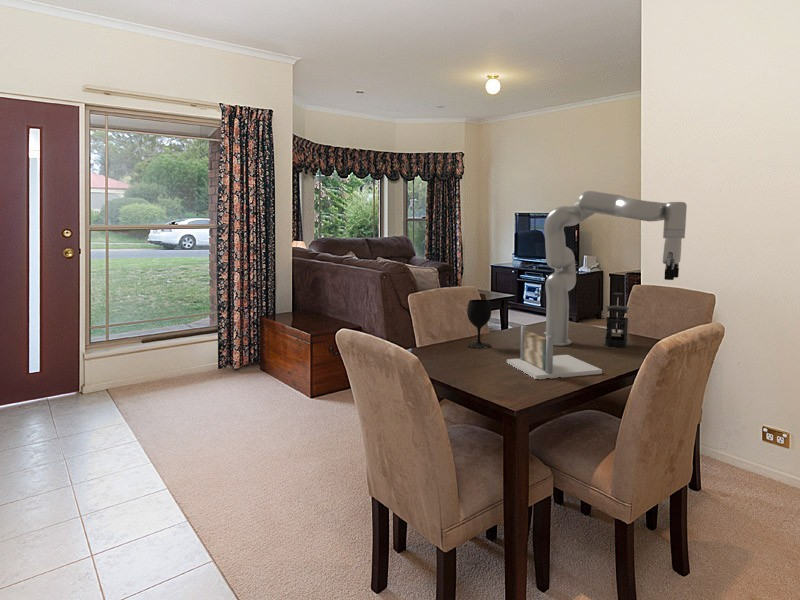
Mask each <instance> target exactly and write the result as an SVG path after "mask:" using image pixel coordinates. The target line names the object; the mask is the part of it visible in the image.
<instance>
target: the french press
mask: <svg viewBox="0 0 800 600" xmlns="http://www.w3.org/2000/svg"><path fill="white" fill-rule="evenodd" d="M612 295H616V299H617V301H616V303H617V304H616V305H608V306H606V309H607V312H612V311H613V312H616V316H607V317H605V322H606V330H605V331H606V335H605V337H604V344H603V345H604V346H605V347H607V346H608V347H607V348H611V347H615V348H614V349H624V348H623V347H626V348H627V347H628V329H629V328H628V324H629V318H628V317H626V316H625V317H622V316H618V315H619V314H623V315H624V314H628V310H629V309H630V308H629V307H628V306H625V305H624V306H623V305H619V298H620V296H623V295H624V293H623V292H614V293H612ZM613 324H615V326H616V327H615V329H614V328H613ZM618 324H620V329H618Z"/></svg>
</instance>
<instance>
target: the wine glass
mask: <svg viewBox="0 0 800 600" xmlns="http://www.w3.org/2000/svg"><path fill="white" fill-rule="evenodd" d="M466 309H467V310H466V314H467V315H466V316H467V318H468V320H469V322H470V323H471V324H472V325H473V326H475V328H476V330H477V340H476V342H469V343H467V344H468V345H469V346H472V347H478V348H484V347H489V348H491V347H492V345H491V344H490V343H487V342H482V341H481V329H482V328H483V327H484V326H486V325H487V324H488V322H489V321H490V319H491V317H492V306H491V302H490V300H489V299H469V301H468V303H467V308H466ZM490 346H491V347H490ZM484 349H485V348H484Z"/></svg>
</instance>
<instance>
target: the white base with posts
mask: <svg viewBox="0 0 800 600" xmlns="http://www.w3.org/2000/svg"><path fill="white" fill-rule="evenodd" d="M524 331H528V325H521V326H520V356H519V357H520V358H510V359H509V358H508V359H506V364H507V363H508V365H509V364H510V365H509V366H511V365H512V366H513V368H514V367H515V368H514V369H516V368H517V369H516V370H518V369H519V370H521V371H523V372H524V373H523V372H522V373H523V374H525V373H526V374H528V375H529V376H528V375H527V376H528V377H530V376H531V377H530V378H532V377H533V378H534V380H535V379H539V380H547V379H546V378H550V379H559V378H558V377H561V378H569V377H581V376H591V375H602V374H603V369H601V368H600V367H598V366H595V365H592V364H590V363H589V362H585V361H583V360H582V359H579V358H575V357H574V356H572V355H569V354H559V355H554V345H553V336H546V335H545V338H546V366H545V370H543V369H541V368H540V367H538V366H536V365H534V364H532V363H530V362H528V361H526V360H524ZM512 366H511V367H512ZM519 370H518V371H519ZM521 371H520V372H521ZM526 374H525V375H526ZM533 378H532V379H533Z"/></svg>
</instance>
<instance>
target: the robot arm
mask: <svg viewBox="0 0 800 600" xmlns="http://www.w3.org/2000/svg"><path fill="white" fill-rule="evenodd" d="M579 195H580V196H579V197H578V199H577V202H575V203H574V204H572V205H569V206H567V205H563V206H559V207H556V208H554V209H553V210H551V211H550V212H549V213H548V214H547V216H546V218H545V220H544V229H543V230H544V231H543V232H544V245H545V261H546V264H547V266H548V267H549V268H550V269H554V272H552V273H551V274H550V275H548V276H547V278H546V280H545V285H544V286H545V287H544V288H545V296H546V303H545V304H546V307H545V308H546V309H545V310H546V313H545V315H546V317H545V318H546V320H545V332H543V335H545V337H546V336H553V347H554V346H555V347H558V346H559V347H560V346H561V347H563V346H564V347H565V346H570V345H571V344H572V340H571V339H569V318H570V317H569V310H570V300H569V299H570V298H569V292H570V291H571V290H572V289H574V288H575V286H576V283H577V271H576V270H577V269H576V259H575V258H576V257H575V255H574V252H573V251H572V249H571V248H569V247H568V246H566V244H567V243H566V234H565V230H564V229H565V227H572V226H576V225H578V224H580V223H582V222H584V221H585V220H587V219H588V218H590V217H591V216H593V215H594V214H600V215H607V216H612V217H617V218H627V219H632V220H638V221H643V222H658V221H663V232H662V233H663V235H662V236H663V237H662V238H663V239H664V243H663V245H664V246H663V253H662V254H663V255H662V264H664V265H665V268H664V278H663V279H664V280H665V281H674V279H675V278H677V279H678V278H679V272H680V271H679V270H680V268H679V267H680V266H679V264H680V262H681V255H682V240H683V239H686V227H687V226H686V224H687V223H686V222H687V206H688V205H687V203H686V202H684V201H670V202H659V201H652V200H651V201H649V200H642V199H635V198H630V197H626V196H624V195H620V194H613V193H608V192H607V193H606V192H599V191H596V190H595V191H594V190H587V191H584V192H582V193H581V194H579Z"/></svg>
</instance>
